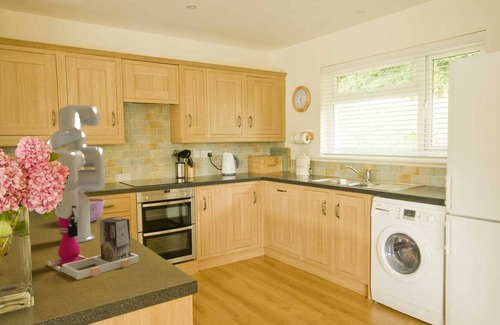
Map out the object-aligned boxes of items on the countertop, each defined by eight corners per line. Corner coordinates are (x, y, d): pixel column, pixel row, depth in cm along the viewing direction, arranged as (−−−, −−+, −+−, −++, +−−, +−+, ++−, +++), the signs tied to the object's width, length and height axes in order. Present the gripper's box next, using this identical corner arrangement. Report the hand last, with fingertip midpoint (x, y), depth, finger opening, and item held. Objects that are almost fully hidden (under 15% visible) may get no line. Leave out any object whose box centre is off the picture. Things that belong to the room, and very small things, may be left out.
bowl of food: (66, 220, 214) (66, 199, 214) (104, 216, 223) (103, 197, 222) (66, 227, 196) (65, 205, 195) (106, 223, 205) (106, 202, 204)
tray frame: (46, 264, 136) (46, 261, 136) (78, 257, 144) (78, 254, 144) (60, 271, 128) (60, 268, 128) (92, 263, 137) (92, 260, 137)
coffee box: (131, 262, 137) (130, 218, 136) (117, 267, 132) (115, 222, 131) (114, 258, 142) (113, 216, 141) (100, 263, 136) (98, 219, 136)
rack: (62, 271, 128) (62, 264, 128) (122, 256, 145) (122, 249, 145) (79, 280, 120) (78, 272, 120) (140, 262, 137) (140, 256, 137)
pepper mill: (56, 264, 137) (53, 209, 136) (76, 259, 141) (74, 206, 141) (62, 268, 131) (59, 211, 130) (83, 263, 136) (80, 208, 135)
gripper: (46, 184, 138) (48, 233, 139) (66, 189, 126) (68, 242, 128) (67, 182, 143) (69, 229, 145) (88, 186, 132) (90, 237, 133)
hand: (68, 234), depth 136 cm, fingers open, 5 cm apart
